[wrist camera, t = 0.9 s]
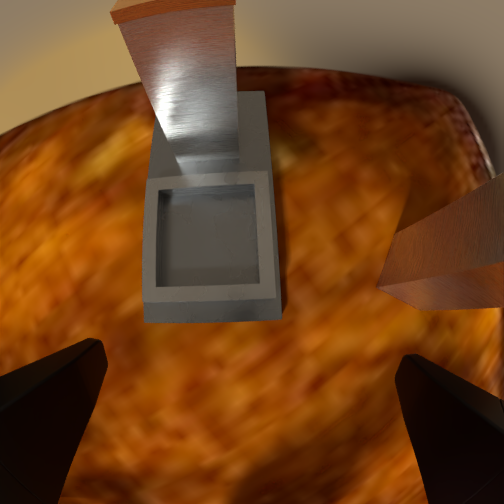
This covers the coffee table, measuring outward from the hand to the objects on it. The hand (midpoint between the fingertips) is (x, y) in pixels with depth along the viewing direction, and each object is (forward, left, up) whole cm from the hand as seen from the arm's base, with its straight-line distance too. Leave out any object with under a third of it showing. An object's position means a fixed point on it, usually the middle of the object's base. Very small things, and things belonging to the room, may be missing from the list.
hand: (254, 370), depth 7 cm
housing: (+10, -3, -14) cm, 17 cm away
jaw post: (-5, -13, -14) cm, 20 cm away
